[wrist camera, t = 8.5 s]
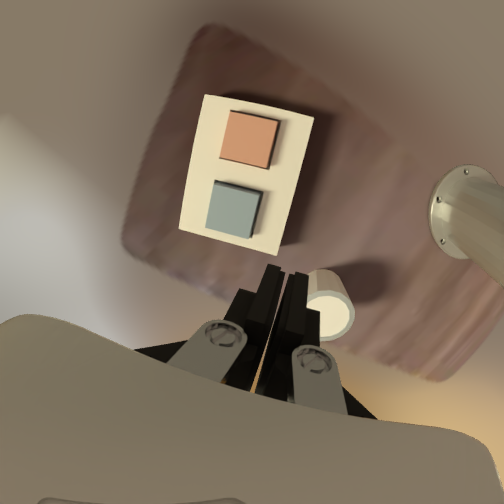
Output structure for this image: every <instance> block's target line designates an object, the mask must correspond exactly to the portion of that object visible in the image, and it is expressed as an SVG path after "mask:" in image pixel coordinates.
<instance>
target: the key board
mask: <svg viewBox="0 0 504 504" xmlns="http://www.w3.org/2000/svg"><path fill="white" fill-rule="evenodd" d="M230 112H235V113H240V114H245V115H250V116H255V117H259V118H264V119H268V120H272V121H276V122H278V123H279V125H278V129H277V133H276V137H275V141H274V145H273V149H272V153H271V157H270V161H269V165H268V167H267V168H263V167H260V166H255V165H251V164H247V163H243V162H239V161H235V160H230V159H226V158H221V157H220V152H221V148H222V143H223V139H224V135H225V130H226V126H227V122H228V117H229V113H230ZM313 120H314V118H313V117H310V116H306V115H302V114H299V113H295V112H291V111H287V110H283V109H278V108H274V107H270V106H265V105H261V104H256V103H251V102H246V101H241V100H236V99H230V98H224V97H218V96H212V95H206V94H205V96H204V100H203V104H202V109H201V113H200V117H199V122H198V126H197V131H196V136H195V140H194V145H193V150H192V155H191V160H190V165H189V171H188V176H187V182H186V187H185V193H184V199H183V205H182V211H181V217H180V223H179V229H181V230H185V231H189V232H192V233H196V234H199V235H203V236H207V237H210V238H214V239H218V240H221V241H225V242H229V243H232V244H236V245H240V246H243V247H247V248H250V249H254V250H258V251H261V252H265V253H269V254H272V255H276V256H277V252H278V249H279V245H280V242H281V238H282V235H283V231H284V228H285V224H286V221H287V217H288V214H289V210H290V206H291V203H292V199H293V195H294V192H295V188H296V185H297V181H298V177H299V173H300V170H301V166H302V162H303V159H304V155H305V151H306V147H307V143H308V140H309V136H310V132H311V128H312V124H313ZM219 181H220V182H224V183H228V184H232V185H236V186H241V187H244V188H248V189H252V190H256V191H260V192H261V196H260V200H259V204H258V209H257V213H256V217H255V221H254V225H253V229H252V233H251V235H250V237H249V239H245V238H241V237H238V236H234V235H230V234H227V233H223V232H219V231H215V230H212V229H208V228H205V225H206V219H207V214H208V209H209V204H210V199H211V194H212V189H213V184H215V183H217V182H219Z"/></svg>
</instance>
